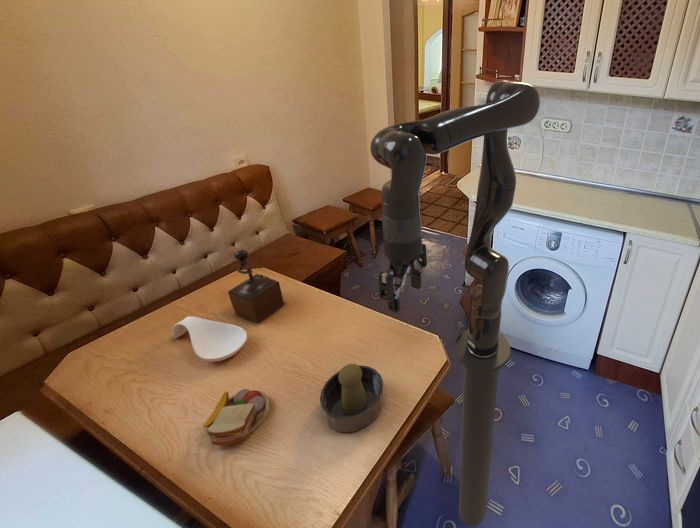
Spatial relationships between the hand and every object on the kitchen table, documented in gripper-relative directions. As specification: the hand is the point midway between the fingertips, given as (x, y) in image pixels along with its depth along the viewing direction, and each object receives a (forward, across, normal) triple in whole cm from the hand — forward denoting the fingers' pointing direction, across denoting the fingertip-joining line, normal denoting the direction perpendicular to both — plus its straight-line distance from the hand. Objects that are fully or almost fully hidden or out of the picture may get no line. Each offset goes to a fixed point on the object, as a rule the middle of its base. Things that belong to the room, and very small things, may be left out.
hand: (405, 298), depth 76 cm
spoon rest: (+30, -11, +60) cm, 68 cm away
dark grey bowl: (+30, -8, +11) cm, 33 cm away
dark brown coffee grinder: (+30, +6, +63) cm, 70 cm away
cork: (+30, -8, +11) cm, 33 cm away
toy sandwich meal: (+30, -22, +32) cm, 49 cm away
